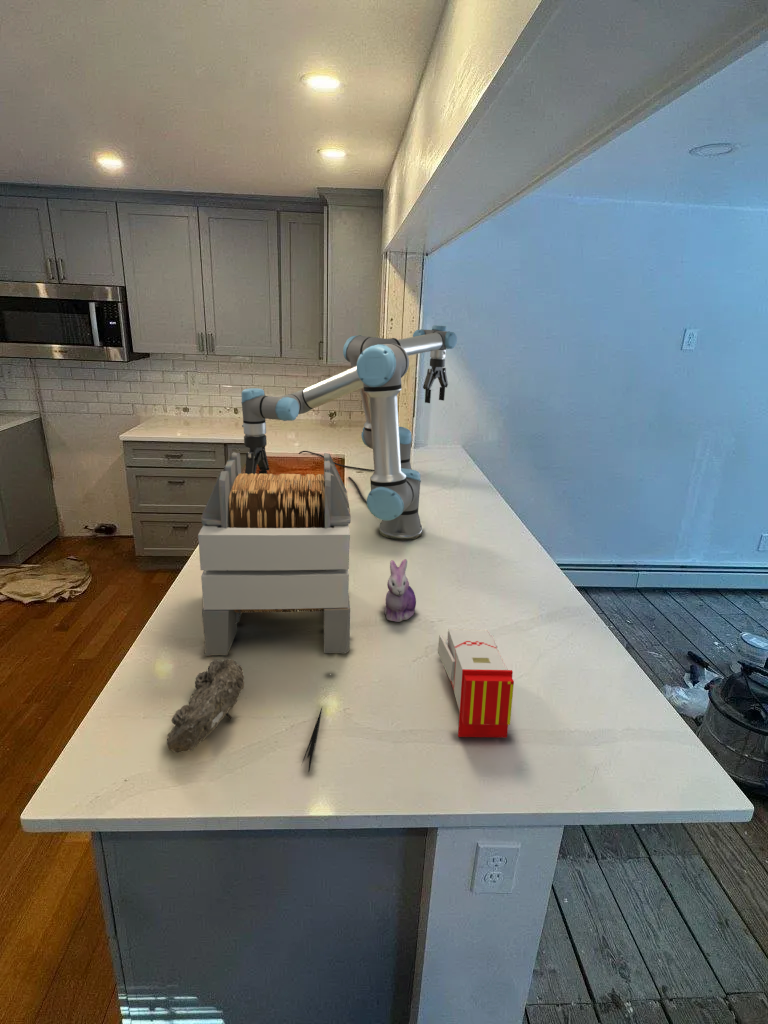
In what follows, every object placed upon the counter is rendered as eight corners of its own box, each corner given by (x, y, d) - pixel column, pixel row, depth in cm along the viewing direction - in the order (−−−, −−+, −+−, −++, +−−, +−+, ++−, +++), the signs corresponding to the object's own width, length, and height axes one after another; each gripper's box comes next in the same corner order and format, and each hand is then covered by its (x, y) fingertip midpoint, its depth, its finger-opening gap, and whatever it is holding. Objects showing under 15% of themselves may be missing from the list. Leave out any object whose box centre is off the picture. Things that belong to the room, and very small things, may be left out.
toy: (488, 613, 130) (523, 677, 101) (484, 667, 133) (517, 744, 104) (435, 612, 130) (455, 676, 101) (432, 666, 133) (451, 743, 103)
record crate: (226, 586, 157) (217, 442, 143) (344, 585, 161) (346, 445, 147) (202, 658, 125) (189, 482, 112) (350, 654, 129) (354, 483, 115)
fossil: (192, 660, 117) (244, 628, 112) (224, 691, 120) (276, 661, 115) (142, 746, 98) (202, 712, 93) (182, 779, 101) (242, 748, 96)
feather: (331, 679, 122) (336, 673, 122) (307, 777, 96) (313, 769, 95) (324, 675, 122) (329, 669, 121) (298, 772, 95) (304, 764, 95)
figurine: (392, 627, 141) (395, 572, 136) (374, 608, 149) (376, 556, 144) (425, 619, 145) (429, 566, 140) (405, 601, 154) (408, 550, 149)
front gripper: (255, 427, 206) (258, 483, 213) (231, 441, 183) (236, 504, 190) (275, 428, 206) (278, 484, 213) (254, 442, 182) (257, 505, 189)
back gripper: (430, 360, 269) (427, 404, 276) (456, 357, 288) (453, 399, 295) (417, 358, 273) (414, 402, 280) (444, 356, 292) (440, 398, 299)
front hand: (258, 493), depth 201 cm, fingers open, 13 cm apart
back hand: (434, 401), depth 288 cm, fingers open, 13 cm apart
